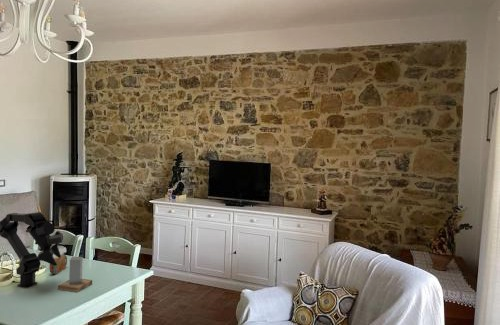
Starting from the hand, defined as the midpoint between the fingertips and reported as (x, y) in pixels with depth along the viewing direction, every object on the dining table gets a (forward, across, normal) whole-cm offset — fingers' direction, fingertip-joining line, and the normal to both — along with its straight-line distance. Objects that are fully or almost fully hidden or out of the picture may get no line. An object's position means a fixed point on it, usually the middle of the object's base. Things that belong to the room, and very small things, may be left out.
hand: (58, 261), depth 195 cm
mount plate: (+15, -5, -2) cm, 16 cm away
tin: (+11, +20, +12) cm, 25 cm away
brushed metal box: (+13, -5, -3) cm, 14 cm away
